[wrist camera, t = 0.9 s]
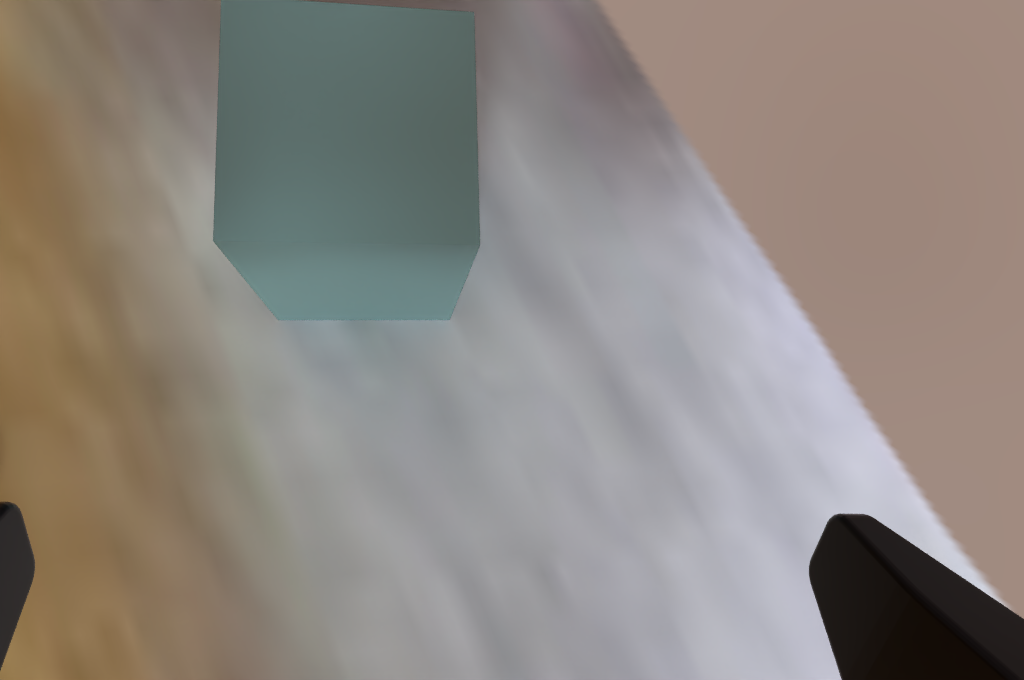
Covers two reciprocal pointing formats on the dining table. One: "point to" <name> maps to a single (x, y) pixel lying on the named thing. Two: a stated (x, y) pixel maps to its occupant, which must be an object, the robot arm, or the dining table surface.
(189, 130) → the dining table surface
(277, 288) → the teal peg
